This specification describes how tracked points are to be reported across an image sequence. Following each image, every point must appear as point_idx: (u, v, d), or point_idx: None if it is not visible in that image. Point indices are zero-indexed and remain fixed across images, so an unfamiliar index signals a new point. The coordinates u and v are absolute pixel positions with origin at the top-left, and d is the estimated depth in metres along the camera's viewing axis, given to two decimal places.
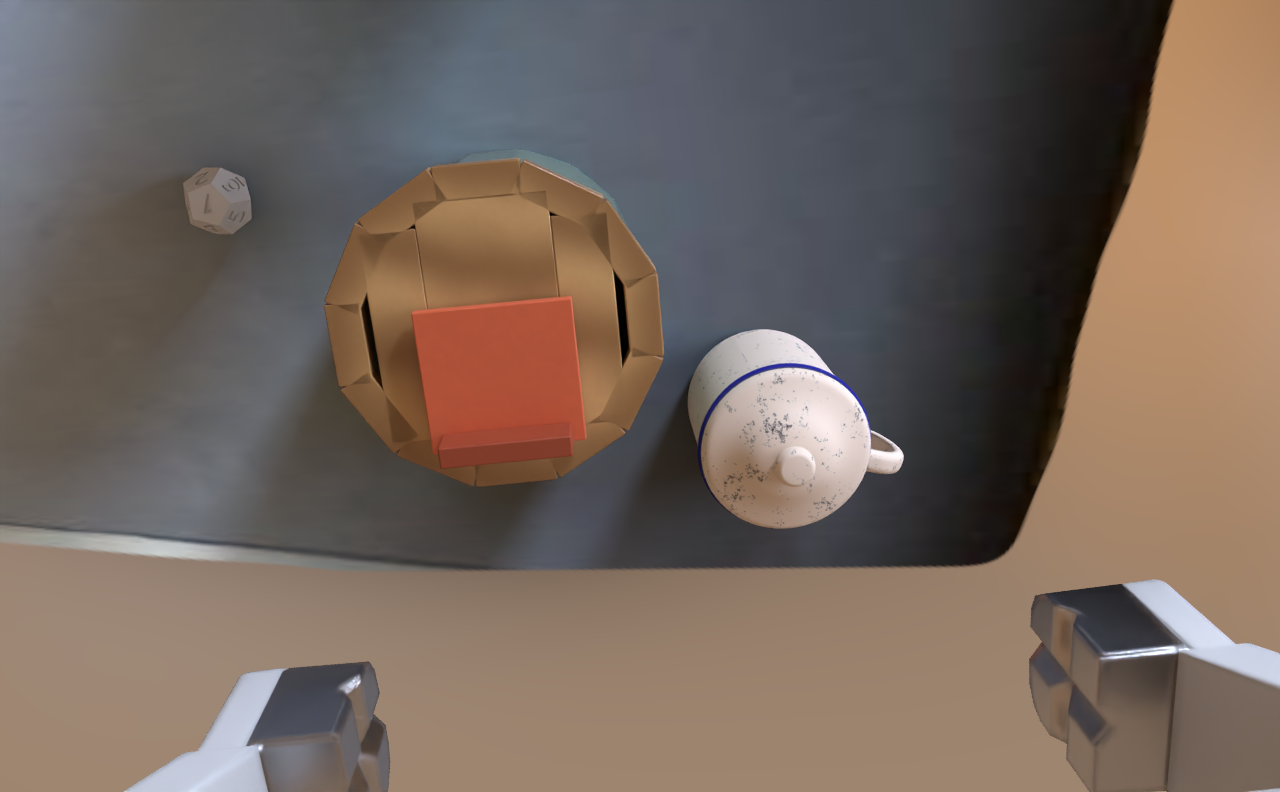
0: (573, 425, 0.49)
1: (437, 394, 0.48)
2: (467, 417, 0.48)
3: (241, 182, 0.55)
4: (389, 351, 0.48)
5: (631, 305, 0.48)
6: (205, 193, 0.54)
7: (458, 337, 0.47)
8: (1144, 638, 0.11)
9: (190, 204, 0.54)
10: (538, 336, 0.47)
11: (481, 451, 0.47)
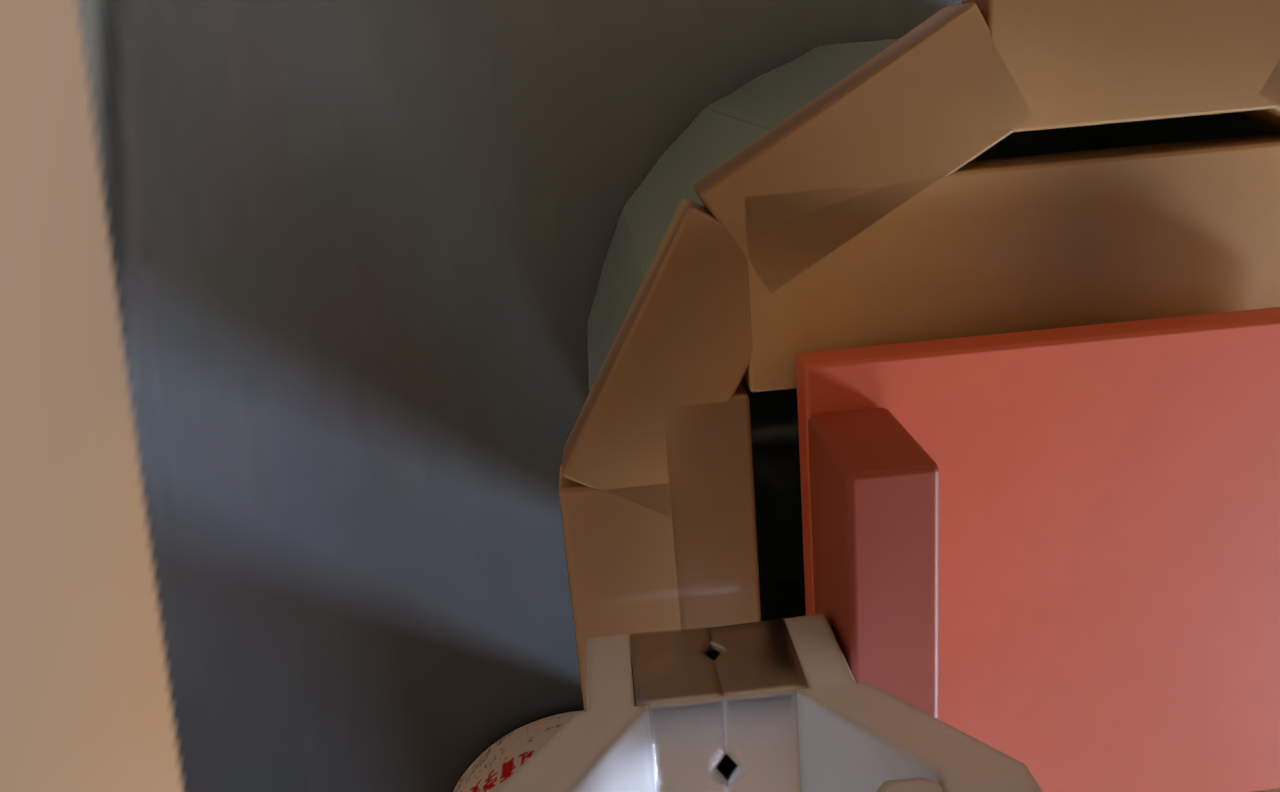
0: None
1: (1044, 392, 0.13)
2: (943, 491, 0.13)
3: None
4: (1102, 208, 0.13)
5: None
6: None
7: (1240, 471, 0.13)
8: (772, 676, 0.11)
9: None
10: (1194, 716, 0.14)
11: (913, 633, 0.11)
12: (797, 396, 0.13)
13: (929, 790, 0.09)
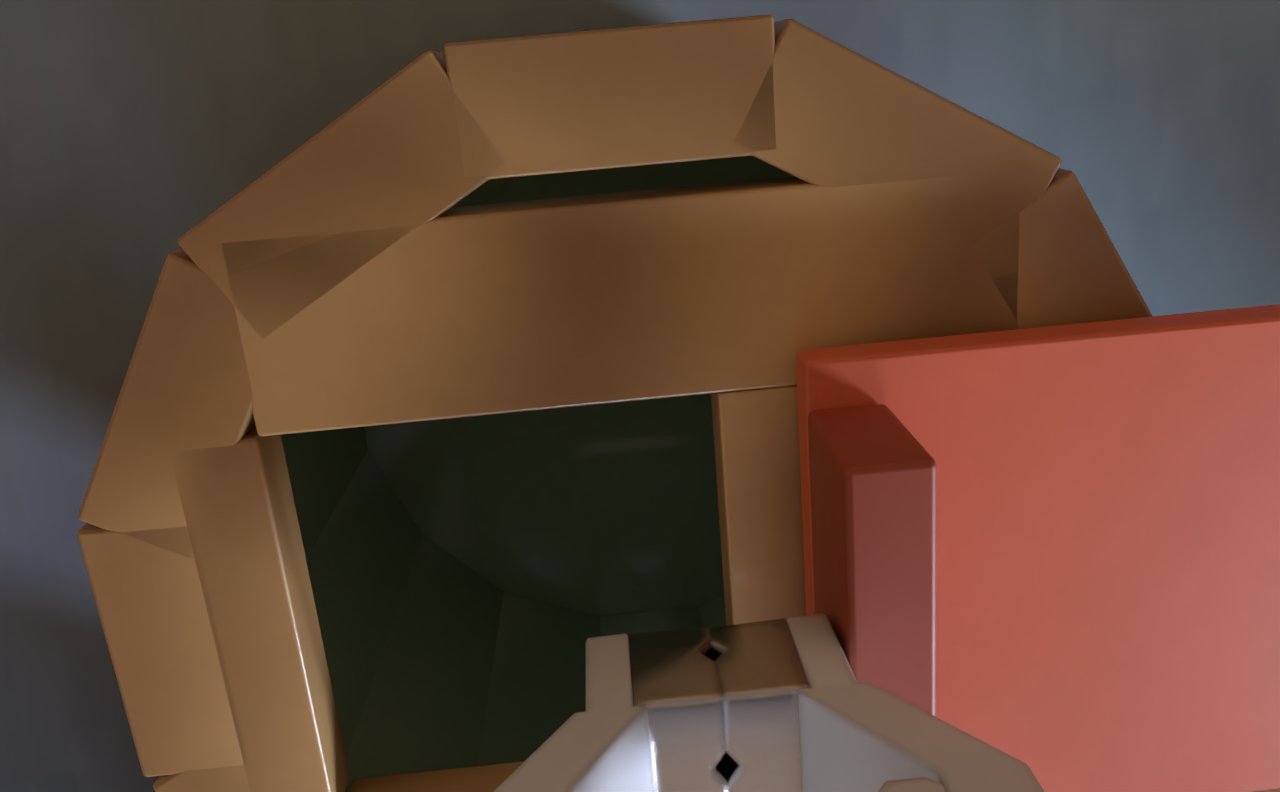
0: None
1: (1041, 388, 0.13)
2: (942, 487, 0.13)
3: None
4: (590, 253, 0.13)
5: None
6: None
7: (1236, 467, 0.13)
8: (774, 676, 0.11)
9: None
10: (1191, 710, 0.14)
11: (910, 627, 0.11)
12: (797, 393, 0.13)
13: (932, 791, 0.09)
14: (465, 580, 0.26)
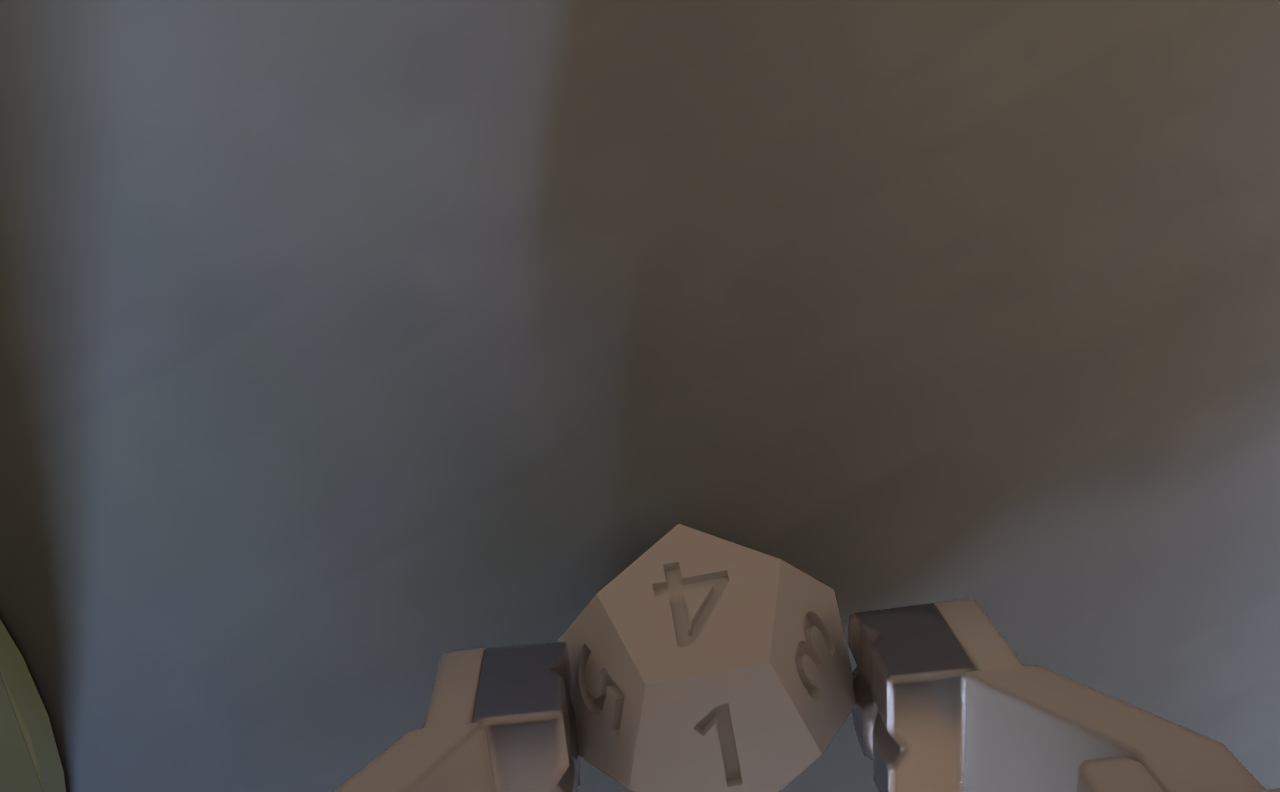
0: None
1: None
2: None
3: None
4: None
5: None
6: (748, 780, 0.12)
7: None
8: (937, 660, 0.11)
9: (797, 710, 0.11)
10: None
11: None
12: None
13: (1132, 769, 0.09)
14: None
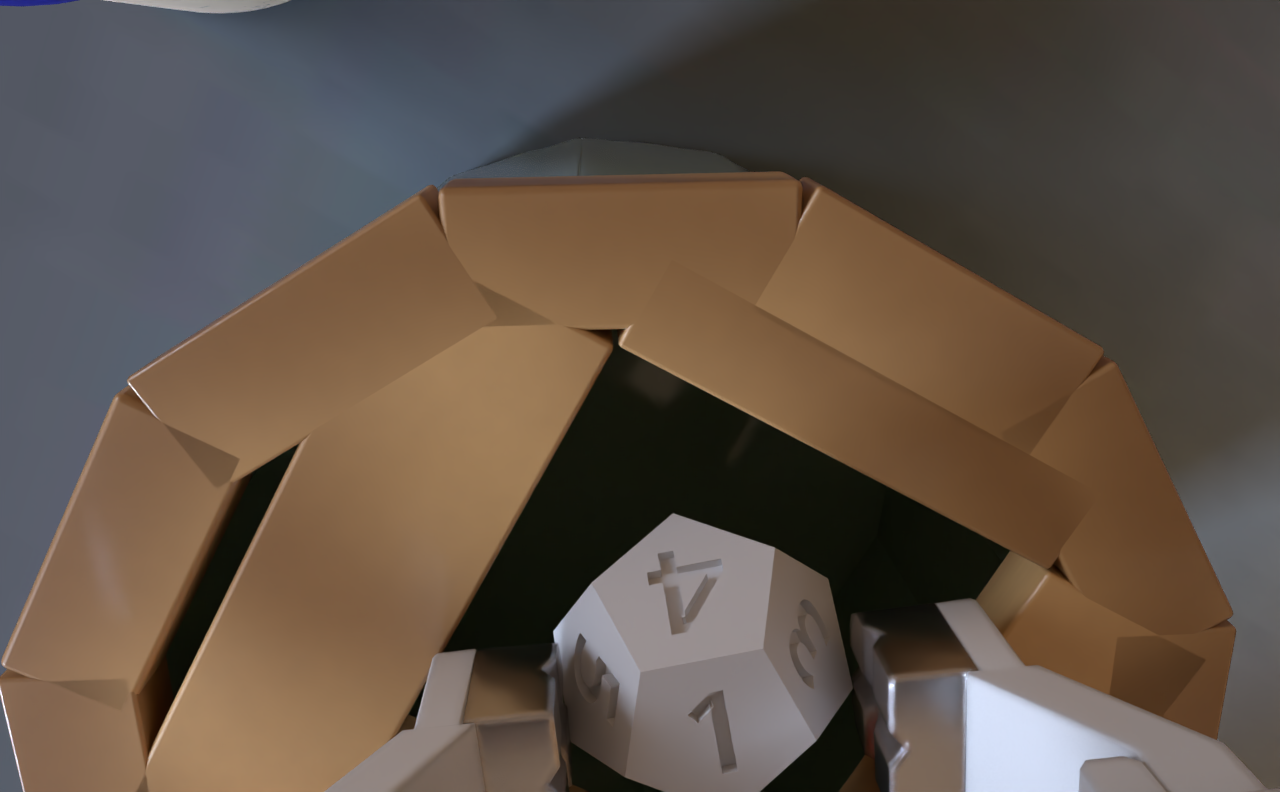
0: None
1: None
2: None
3: None
4: None
5: (144, 624, 0.12)
6: (743, 768, 0.12)
7: None
8: (938, 659, 0.11)
9: (791, 697, 0.12)
10: None
11: None
12: None
13: (1133, 768, 0.09)
14: None
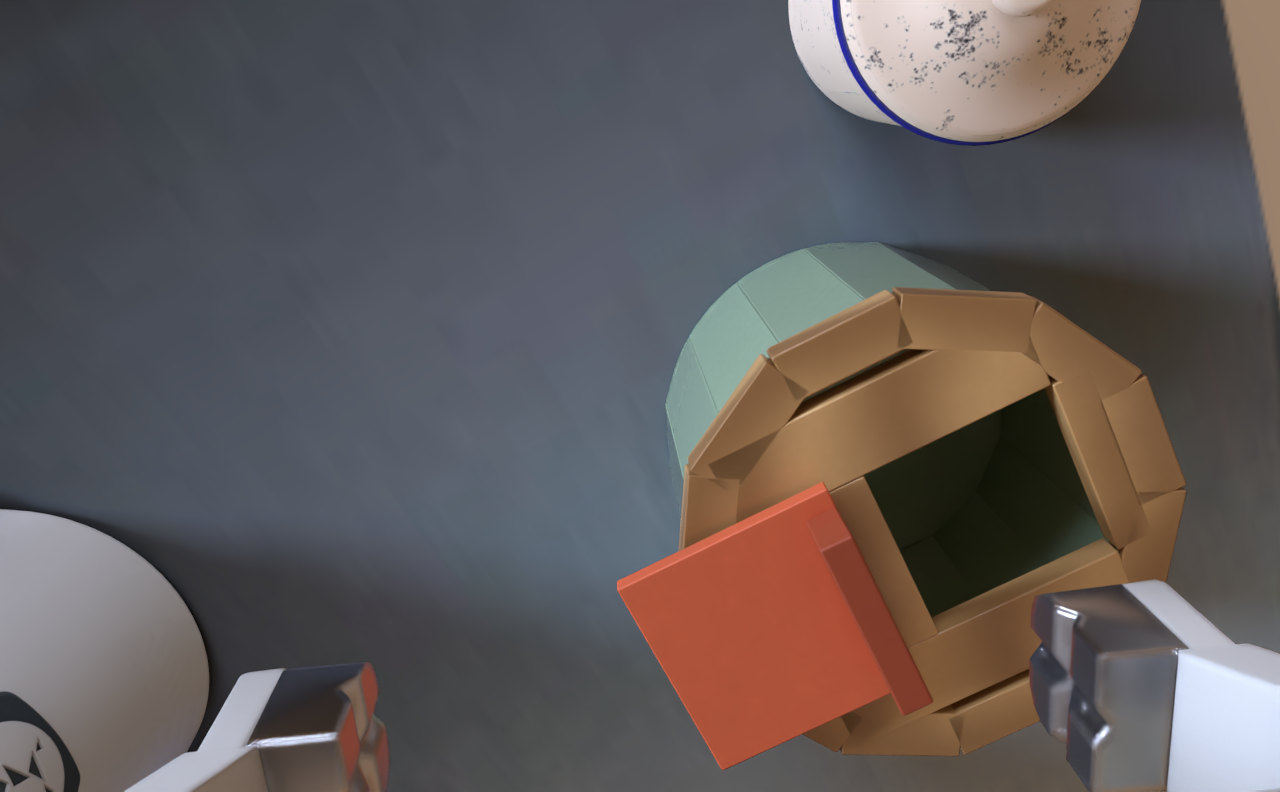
0: (810, 515, 0.30)
1: (826, 704, 0.32)
2: (847, 658, 0.32)
3: None
4: (1005, 662, 0.33)
5: (832, 376, 0.30)
6: None
7: (733, 707, 0.32)
8: (1144, 638, 0.11)
9: None
10: (690, 611, 0.31)
11: (887, 661, 0.29)
12: None
13: None
14: None
